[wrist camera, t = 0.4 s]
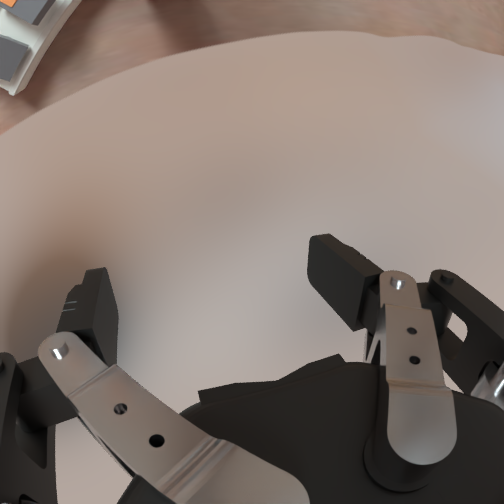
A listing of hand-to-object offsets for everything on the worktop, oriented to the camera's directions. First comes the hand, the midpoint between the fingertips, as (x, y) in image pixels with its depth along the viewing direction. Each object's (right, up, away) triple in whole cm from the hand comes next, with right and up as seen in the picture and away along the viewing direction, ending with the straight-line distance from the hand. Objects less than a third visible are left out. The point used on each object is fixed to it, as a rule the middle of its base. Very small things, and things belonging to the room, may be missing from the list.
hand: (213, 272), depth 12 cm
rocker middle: (-19, +24, +2) cm, 31 cm away
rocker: (-24, +20, +4) cm, 31 cm away
